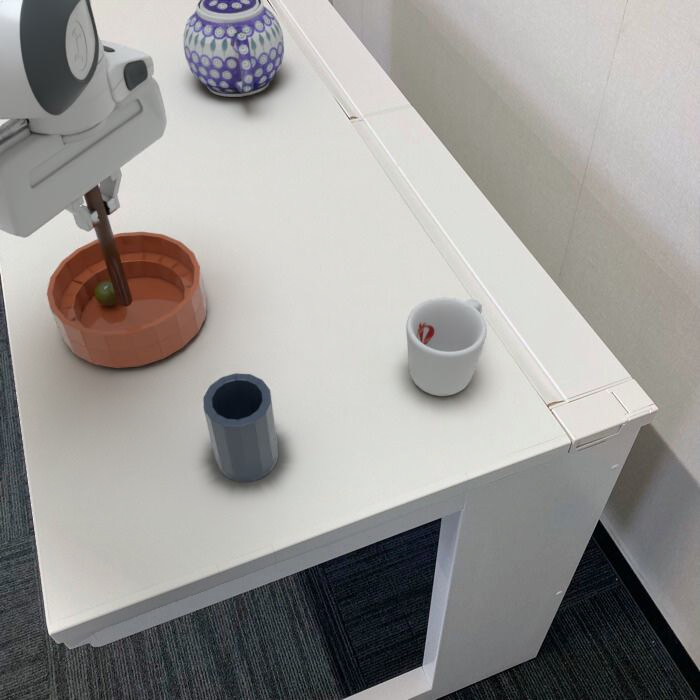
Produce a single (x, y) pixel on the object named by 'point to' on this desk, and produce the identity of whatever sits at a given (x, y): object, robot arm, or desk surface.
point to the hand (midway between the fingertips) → (99, 217)
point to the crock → (241, 426)
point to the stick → (109, 248)
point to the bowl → (145, 310)
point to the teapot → (233, 46)
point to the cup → (444, 344)
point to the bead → (105, 293)
